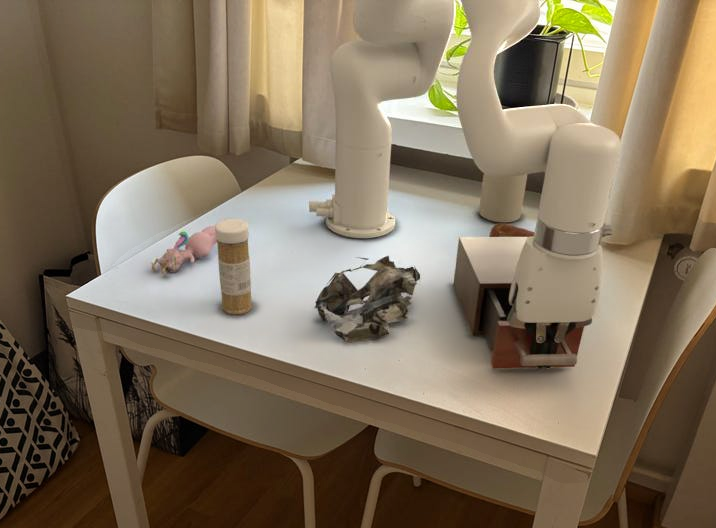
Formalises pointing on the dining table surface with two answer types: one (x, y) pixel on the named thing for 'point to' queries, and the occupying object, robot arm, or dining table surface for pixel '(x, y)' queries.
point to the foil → (367, 301)
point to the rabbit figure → (187, 249)
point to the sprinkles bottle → (234, 265)
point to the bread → (509, 231)
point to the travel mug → (502, 198)
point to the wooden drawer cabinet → (483, 272)
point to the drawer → (519, 337)
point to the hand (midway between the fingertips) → (540, 362)
